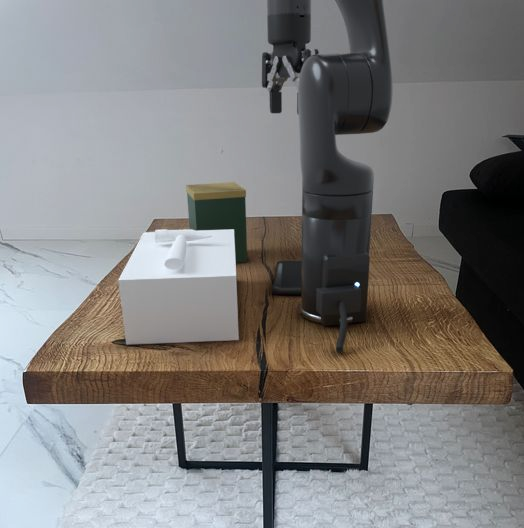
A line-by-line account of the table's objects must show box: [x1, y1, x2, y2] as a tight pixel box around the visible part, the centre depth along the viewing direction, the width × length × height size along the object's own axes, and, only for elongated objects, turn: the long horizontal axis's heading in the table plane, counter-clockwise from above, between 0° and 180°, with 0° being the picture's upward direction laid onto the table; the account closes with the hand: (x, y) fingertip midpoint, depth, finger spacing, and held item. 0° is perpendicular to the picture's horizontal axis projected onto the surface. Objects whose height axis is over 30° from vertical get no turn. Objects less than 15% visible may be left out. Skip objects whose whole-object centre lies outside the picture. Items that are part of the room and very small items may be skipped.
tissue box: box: [117, 228, 240, 346], centre depth 87 cm, size 14×25×11 cm, turn 3°
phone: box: [272, 260, 301, 296], centre depth 100 cm, size 8×1×15 cm
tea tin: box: [185, 181, 248, 264], centre depth 111 cm, size 9×9×13 cm
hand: (289, 114), depth 110 cm, fingers open, 8 cm apart
